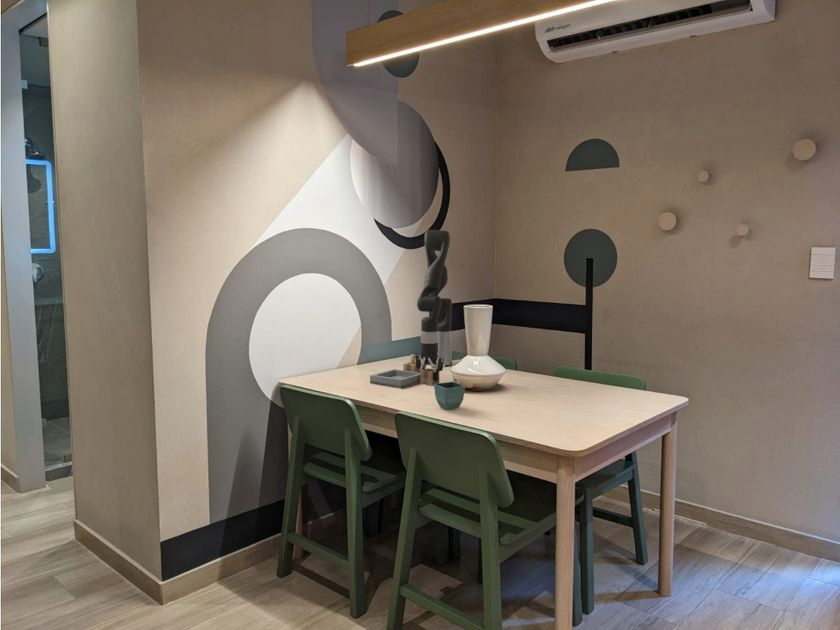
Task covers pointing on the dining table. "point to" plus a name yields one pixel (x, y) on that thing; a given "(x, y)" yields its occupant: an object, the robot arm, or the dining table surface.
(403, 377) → the tray
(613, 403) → the dining table surface
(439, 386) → the flower pot
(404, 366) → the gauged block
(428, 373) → the bored block
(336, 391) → the dining table surface
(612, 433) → the dining table surface
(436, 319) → the robot arm
